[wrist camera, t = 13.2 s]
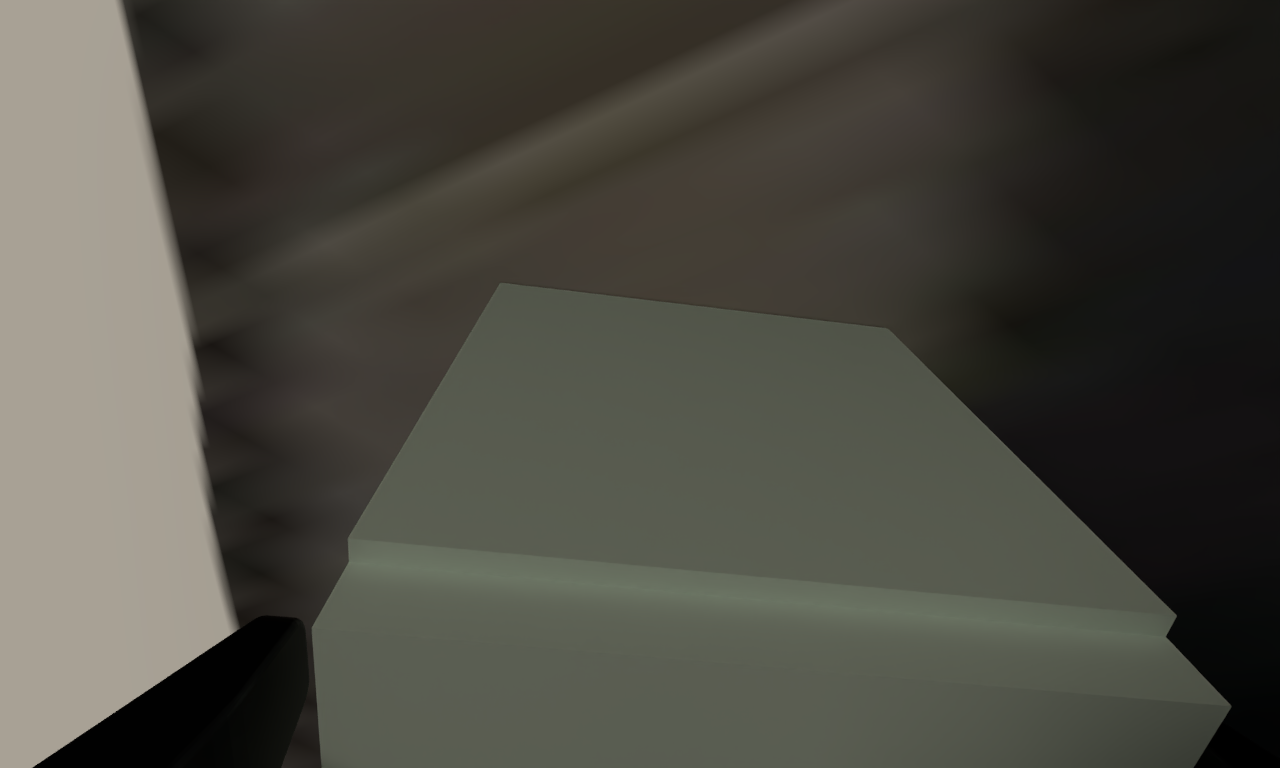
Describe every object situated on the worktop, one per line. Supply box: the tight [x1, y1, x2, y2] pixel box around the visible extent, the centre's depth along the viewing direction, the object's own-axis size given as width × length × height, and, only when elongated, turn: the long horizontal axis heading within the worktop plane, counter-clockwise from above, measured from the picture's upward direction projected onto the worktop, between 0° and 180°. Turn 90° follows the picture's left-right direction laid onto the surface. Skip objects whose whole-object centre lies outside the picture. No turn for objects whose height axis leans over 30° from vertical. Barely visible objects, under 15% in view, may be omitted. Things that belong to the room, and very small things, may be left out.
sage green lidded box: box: [312, 283, 1232, 768], centre depth 11 cm, size 8×8×9 cm
